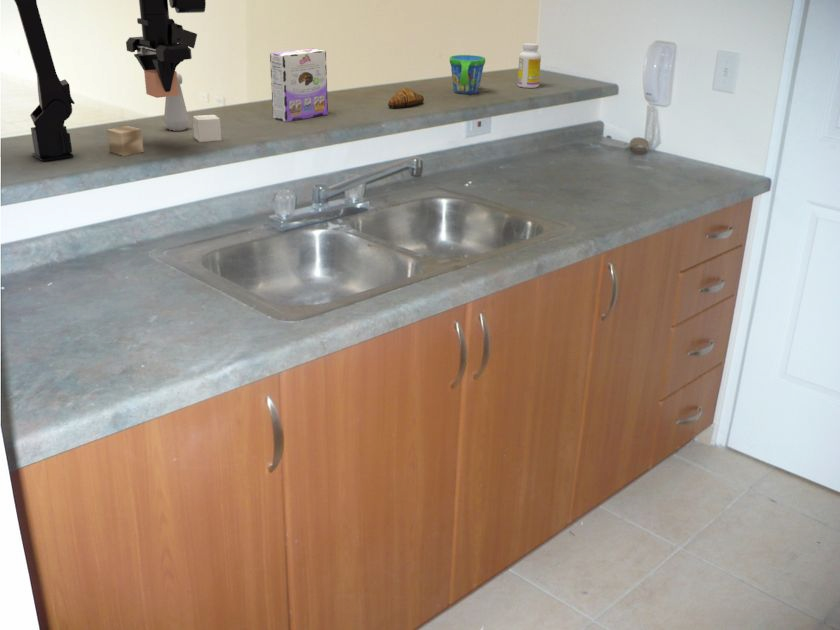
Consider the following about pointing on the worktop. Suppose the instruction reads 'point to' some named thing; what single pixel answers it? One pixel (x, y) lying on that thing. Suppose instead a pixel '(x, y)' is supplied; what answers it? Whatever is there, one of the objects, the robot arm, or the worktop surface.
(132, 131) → the oak cube
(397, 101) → the croissant
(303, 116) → the cake mix box
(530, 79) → the supplement bottle
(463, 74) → the snack cup
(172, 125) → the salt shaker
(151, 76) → the terracotta cube
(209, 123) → the off-white cube
